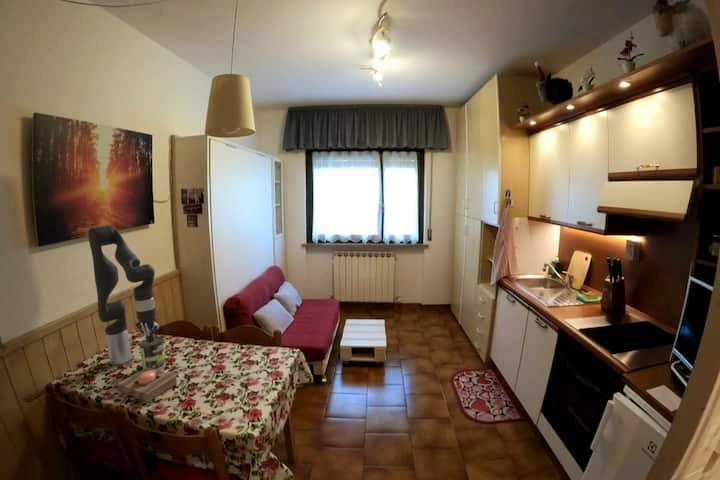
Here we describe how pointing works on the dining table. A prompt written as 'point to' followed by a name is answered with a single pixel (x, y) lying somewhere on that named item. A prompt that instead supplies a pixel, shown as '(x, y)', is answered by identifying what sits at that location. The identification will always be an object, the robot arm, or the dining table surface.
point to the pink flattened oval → (146, 378)
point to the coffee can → (152, 353)
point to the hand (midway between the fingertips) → (150, 342)
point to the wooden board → (149, 391)
